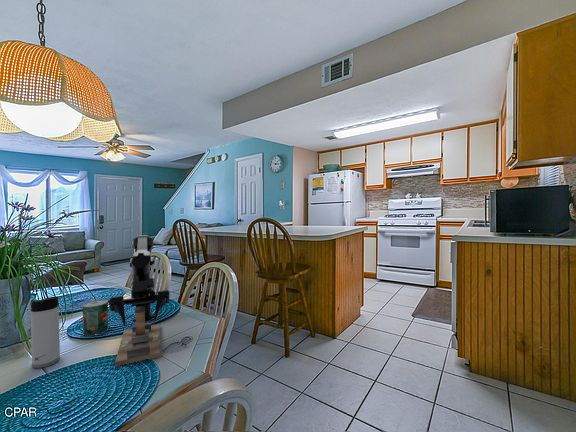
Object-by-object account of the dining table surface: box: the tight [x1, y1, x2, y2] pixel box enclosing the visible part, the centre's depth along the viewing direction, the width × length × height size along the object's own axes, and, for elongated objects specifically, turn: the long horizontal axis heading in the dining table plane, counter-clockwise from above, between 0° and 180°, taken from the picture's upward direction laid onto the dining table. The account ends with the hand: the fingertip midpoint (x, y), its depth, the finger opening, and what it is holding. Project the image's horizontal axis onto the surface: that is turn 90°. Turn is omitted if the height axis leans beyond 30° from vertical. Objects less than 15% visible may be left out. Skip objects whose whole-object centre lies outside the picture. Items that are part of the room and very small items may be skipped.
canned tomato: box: [82, 299, 109, 336], centre depth 101 cm, size 8×8×11 cm
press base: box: [114, 322, 161, 368], centre depth 91 cm, size 24×12×4 cm, turn 26°
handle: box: [131, 306, 149, 344], centre depth 90 cm, size 5×5×11 cm
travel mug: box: [30, 296, 61, 369], centre depth 80 cm, size 6×7×20 cm
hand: (140, 323), depth 90 cm, fingers open, 9 cm apart
